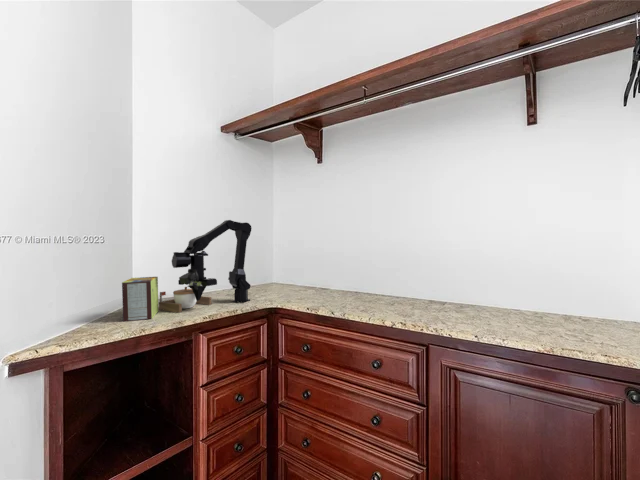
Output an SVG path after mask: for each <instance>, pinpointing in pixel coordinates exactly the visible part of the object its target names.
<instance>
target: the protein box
mask: <svg viewBox="0 0 640 480" xmlns="http://www.w3.org/2000/svg"><path fill="white" fill-rule="evenodd" d="M158 279H159V278H158V276H143V277H142V276H141V277H131V278H128V279H126V280H124V281H122V282H121V289H122V290H121V291H122V294H121V295H122V299H121V300H122V321H123V322H134V321H135V322H136V321H145V320H147V321H148V320H153V318H154V317H155V316H156V314H158V312H159V285H158V284H159V281H158Z"/></svg>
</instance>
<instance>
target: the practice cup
mask: <svg viewBox="0 0 640 480" xmlns="http://www.w3.org/2000/svg"><path fill="white" fill-rule="evenodd" d="M166 295H167V293H166V291H159V301H158V311H163V312H164V311H165V312H173V313H179V314H180V313H182V312H183V311H182V310H183V308H182V304H177V303H175V301H174V298H173V299H167V300H164V301H163V299H162V298H163V296H166ZM195 305H207V306H211V305H212V297H211V296H203V295H202V296H201V298H200V300H199V301H197V302H196V304H195Z"/></svg>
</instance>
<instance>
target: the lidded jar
mask: <svg viewBox="0 0 640 480" xmlns="http://www.w3.org/2000/svg"><path fill="white" fill-rule="evenodd" d="M172 293H173V299H174V301H175V303H177V304H182V309H190V308H193V307H194V306H195V305H197V304H196V302H197V300H196V298H195V295H194V292H193V290H192V289H191V288H188V286H184V289H183V288H182V289H177V290H173V292H172Z"/></svg>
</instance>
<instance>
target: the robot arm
mask: <svg viewBox="0 0 640 480" xmlns="http://www.w3.org/2000/svg"><path fill="white" fill-rule="evenodd" d="M228 230H231V231H234V234H235V238H236V245H235V246H236V247H235V255H234V256H235V257H234V265H233V266H234V267H233V269H232V271H228V279H227V280H228V283H229V284H230V286H231V287H232V289H234V300H231V301H232V302H233V303H247V302H249V301H251V299H250V298H249V293H248V292H249V290H250V289H251V283H249V282H248V281H247V277H246V272H245V260H246V251H247V241H248V240H249V238H250V235H251V232H252V225H251V224H250V223H249V222H241V221H234V220H231V219H226V220H224V221H223V222H221V223H219V224H218V225H217V226H214V228H212V229H210V230H209V231H207V232H206V233H205V234H202V235H198V236H196V237H194V238H192V239H190V240H189V241H188V244H187V246H186V248H185V249H184V251H183V252H179V251H178V252H177V251H175V252H173V255H172V258H171V266H172V268H174V269H175V268H176V269H177V268H188V267H190V268H188V270H187V272H186V273H185V274H182V275H181V276H179V277H178V283H177V284H178V285H182V286H183V285H187V288H189V289H192V290H193V292H194V295H195V298H196V300H197V301H199V300H200V298H201V296H203V294H204V292H205V289H206V287H210V286H215V285H216V286H217V285H218V279H217V278H215V277H214V278H213V277H211V278H207V277H206V276H205V271H207V268H206V267H205V260H204V259H205V257H206V256H207V257H208V256H209V253H208V252H206V251H205V249H206V248H207V247H208V246H209V245H210V243H211V242H212V241H214V240H215V239H216V238H218V237H220V236H222V234H224V233H226V232H227V231H228Z"/></svg>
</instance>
